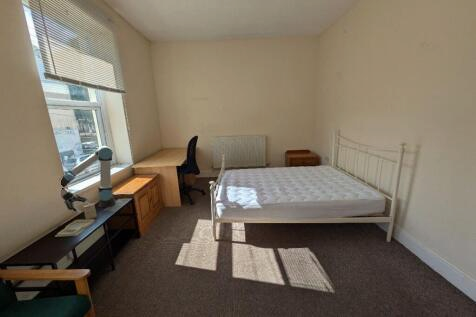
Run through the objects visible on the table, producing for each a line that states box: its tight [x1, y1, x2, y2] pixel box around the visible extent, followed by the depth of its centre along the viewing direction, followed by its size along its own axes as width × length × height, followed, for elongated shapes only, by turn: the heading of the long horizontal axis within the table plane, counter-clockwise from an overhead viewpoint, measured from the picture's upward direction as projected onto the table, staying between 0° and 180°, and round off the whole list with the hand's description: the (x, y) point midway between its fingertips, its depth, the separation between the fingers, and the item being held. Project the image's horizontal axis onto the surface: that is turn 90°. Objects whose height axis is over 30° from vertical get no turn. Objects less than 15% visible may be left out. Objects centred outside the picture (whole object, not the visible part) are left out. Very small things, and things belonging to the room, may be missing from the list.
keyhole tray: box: [54, 218, 96, 238], centre depth 169 cm, size 22×17×2 cm
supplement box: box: [82, 202, 98, 220], centre depth 187 cm, size 8×5×13 cm, turn 134°
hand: (85, 209), depth 185 cm, fingers open, 13 cm apart
